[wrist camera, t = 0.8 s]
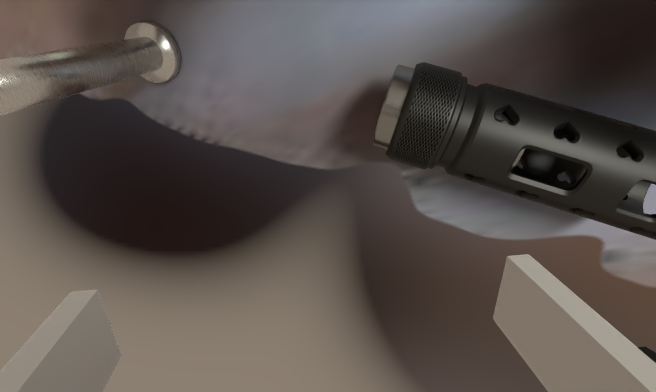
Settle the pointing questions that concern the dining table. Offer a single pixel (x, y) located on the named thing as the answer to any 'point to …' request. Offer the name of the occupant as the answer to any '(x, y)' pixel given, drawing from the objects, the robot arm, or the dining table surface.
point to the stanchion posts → (88, 67)
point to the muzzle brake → (520, 145)
